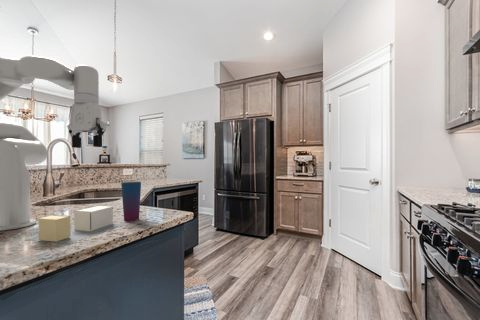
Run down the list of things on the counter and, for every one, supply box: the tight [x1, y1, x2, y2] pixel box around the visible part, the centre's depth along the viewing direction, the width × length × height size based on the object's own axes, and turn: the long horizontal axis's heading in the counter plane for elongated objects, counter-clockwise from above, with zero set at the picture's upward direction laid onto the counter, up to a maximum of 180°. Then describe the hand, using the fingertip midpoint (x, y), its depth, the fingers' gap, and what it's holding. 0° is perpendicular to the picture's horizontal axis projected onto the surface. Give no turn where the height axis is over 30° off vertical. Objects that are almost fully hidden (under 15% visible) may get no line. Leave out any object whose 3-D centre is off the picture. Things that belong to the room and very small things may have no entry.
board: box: [25, 222, 125, 245], centre depth 71 cm, size 16×20×1 cm
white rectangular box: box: [73, 205, 114, 231], centre depth 76 cm, size 6×9×6 cm
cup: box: [120, 180, 142, 223], centre depth 85 cm, size 7×7×15 cm
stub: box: [38, 214, 72, 242], centre depth 64 cm, size 6×4×6 cm, turn 75°
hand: (87, 147), depth 83 cm, fingers open, 9 cm apart
